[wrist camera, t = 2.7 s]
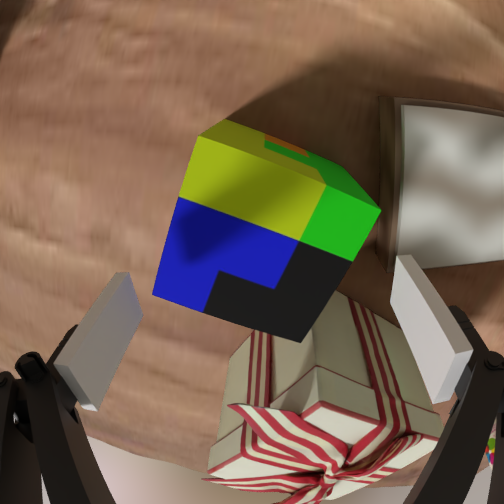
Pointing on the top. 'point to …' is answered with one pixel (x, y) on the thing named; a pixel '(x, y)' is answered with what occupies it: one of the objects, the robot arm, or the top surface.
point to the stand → (440, 183)
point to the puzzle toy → (261, 232)
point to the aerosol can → (491, 445)
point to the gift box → (323, 408)
